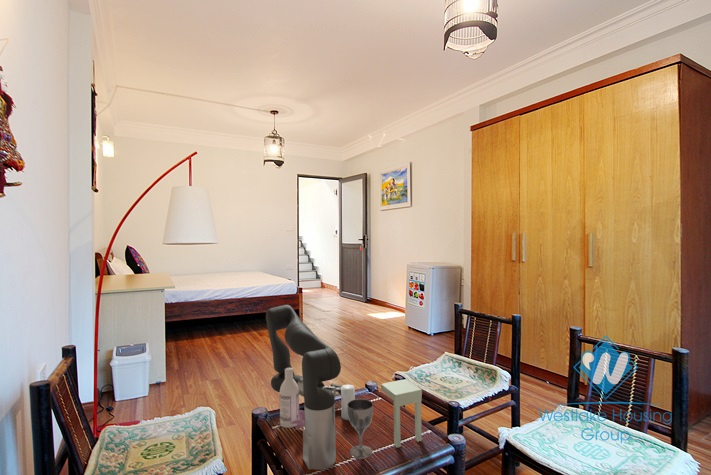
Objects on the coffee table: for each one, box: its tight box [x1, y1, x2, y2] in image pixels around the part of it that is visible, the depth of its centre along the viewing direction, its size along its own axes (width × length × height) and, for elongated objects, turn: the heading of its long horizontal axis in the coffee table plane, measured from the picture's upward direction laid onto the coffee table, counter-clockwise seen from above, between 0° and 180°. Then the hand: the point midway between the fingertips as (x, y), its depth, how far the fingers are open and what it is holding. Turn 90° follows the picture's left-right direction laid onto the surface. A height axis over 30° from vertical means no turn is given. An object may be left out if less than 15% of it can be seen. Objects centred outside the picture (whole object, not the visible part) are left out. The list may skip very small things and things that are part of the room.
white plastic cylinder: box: [340, 384, 356, 421], centre depth 137 cm, size 5×5×11 cm
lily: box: [290, 409, 305, 430], centre depth 125 cm, size 12×12×10 cm
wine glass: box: [348, 398, 374, 460], centre depth 114 cm, size 8×8×15 cm
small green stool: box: [380, 378, 423, 448], centre depth 122 cm, size 10×10×17 cm
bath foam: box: [279, 367, 300, 429], centre depth 132 cm, size 7×7×20 cm
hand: (341, 398), depth 138 cm, fingers open, 8 cm apart
